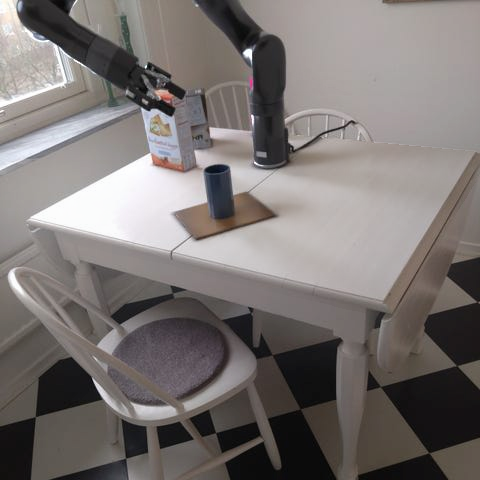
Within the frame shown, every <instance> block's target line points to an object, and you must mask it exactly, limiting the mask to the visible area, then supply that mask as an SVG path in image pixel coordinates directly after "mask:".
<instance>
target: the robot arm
mask: <svg viewBox="0 0 480 480" xmlns="http://www.w3.org/2000/svg"><path fill="white" fill-rule="evenodd" d="M190 1H191V2H192V4H194V5H195V7H196V8H198V9H199V10H200V12H202V14H203V15H204V16H205V17H206V18H207V19H208V20H209V21H210V22H211V23H212V24H213V25H214V26H215V27H217V28H218V29H219V30H220V32H222V33H223V34H224V35H225V37H226V38H227V39H228V40H229V42H230V43H231V44H232V45H233V47H234V48H235V50H236V51H237V52H238V54H239V56H240V57H241V59H242V60H243V61H244V63H245V64H246V66H247V67H248V68H249V69H251V77H252V79H253V86H252V89H251V88H250V90H249V94H248V95H249V108H250V123H251V122H252V125H251V134H252V146H253V147H252V148H253V164H254V166H255V167H257V168H260V169H276V168H280V167H282V166H284V165H286V164H287V163H289V162H290V154H292V153H295V152H298V151H300V150H302V149H304V148H305V147H307V146H309V145H310V144H312V143H314V142H315V141H316V140H317V139H319V138H320V137H322V136H324V135H326V134H329V133H333V132H336V131H340V130H343V129H345V128H347V127H348V126H349V125H350V124H356V122H355V120H353V119H350V120H349V121H347V123H345V124H344V125H342V126H339V127H334V128H331V129H328V130H325V131H323V132H320V133H319V134H316V136H315V137H313V138H312V139H311V140H308V141H307V142H305V143H304V144H303V145H301V146H300V147H297V148H296V149H295V146H294V145H293V144H291V142H289V128H288V127H286V116H285V90H286V87H287V52H286V47H285V43H284V42H283V40H282V39H281V38H280V37H279V36H278V35H276V34H274V33H272V32H267V31H266V30H265V29H263V28H262V27H261V26H260V25H259V24H258V23H257V22H256V21H255V20H254V19H253V17H252V16H250V14H249V13H248V12H247V11H246V10H245V8H244V6H243V5H242V3H241V1H240V0H190ZM77 2H78V0H17V1H16V5H15V9H16V16H17V18H18V20H19V23H20V24H21V25H22V26H23V28H24V30H25V31H26V33H27V34H28V35H29V36H30V37H31V38H32V39H34V40H36V41H38V42H42V43H45V42H50V43H52V44H54V45H55V46H57V47H58V48H59V49H60V50H61V51H62V52H63V54H64V55H66V56H67V57H69V58H70V59H72V60H73V61H75V62H77V63H78V64H80V65H81V66H83V67H85V68H87V69H88V70H89V71H91V72H92V73H93V74H95V75H96V76H98V77H99V78H101V79H103V80H104V81H106V82H108V83H109V84H111V85H112V86H114V87H116V88H117V89H120V91H123V92H124V91H126V92H125V95H124V96H125V98H126V99H128V100H129V101H131V102H133V103H134V104H136V105H137V106H138V107H140V108H141V107H142V108H143V109H145V110H146V111H149V112H150V111H151V109H158V110H159V111H161V112H163V113H165V114H166V115H168V116H170V117H172V116H173V114H174V112H175V110H176V108H175V107H174V106H172V105H170V104H169V103H167V102H165V101H164V100H162V99H160V98H159V97H158V96H157V95H156V93H155V90H156V91H158V90H160V89H161V90H166V91H168V92H169V93H170V94H172V95H174V96H175V97H177V98H179V99H180V100H183V98H184V96H185V94H186V91H185V90H186V89H184V88H182V87H181V86H180V85H178V84H176V83H174V82H173V80H172V74H171V73H169V72H168V71H166V70H164V69H163V68H161V67H160V66H157V65H156V64H154V63H152V62H150V61H147V62H146V65H145V67H144V66H141V65H140V64H139V63H140V58H139V57H138V56H137V55H135V54H134V53H132V52H130V51H128V50H127V49H125V48H123V47H122V46H121V45H118V44H117V43H116V42H114V41H112V40H110V39H109V38H107V37H104V36H102V35H100V34H99V33H97V32H96V31H94V30H92V29H90V28H89V27H87V26H85V25H84V24H82V23H80V22H78V21H77V20H76V19H74V18H73V17H72V16H71V15H70V13H71V12H72V9H73V7H74V5H75V4H76V3H77ZM152 98H153V99H152ZM142 100H143V101H144V102H145V103H147V105H146V104H145V103H143V102H142Z"/></svg>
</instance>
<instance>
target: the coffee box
mask: <svg viewBox="0 0 480 480" xmlns="http://www.w3.org/2000/svg"><path fill="white" fill-rule="evenodd" d="M184 90H185V91H186V100H187V106H188V113H189V119H190V126H191V132H192V138H193V145H194V150H196V149H197V150H198V149H204V148H205V149H206V148H211V147H212V141H211V140H212V139H211V130H210V129H211V128H210V122H209V114H208V106H207V97H206V92H205V87H199V88H190V89H184Z"/></svg>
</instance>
